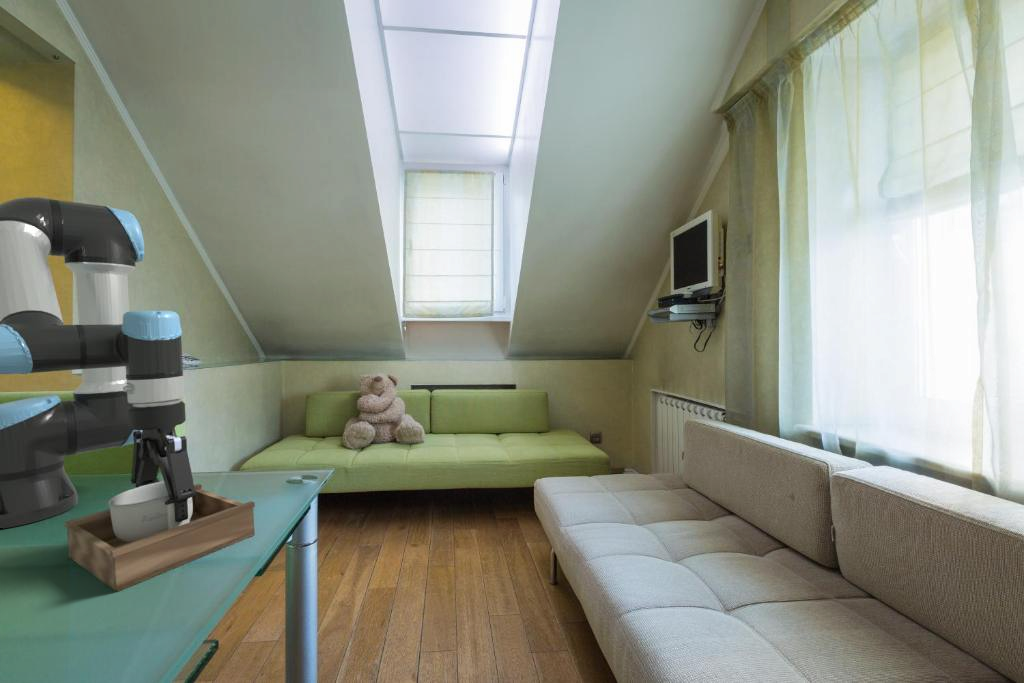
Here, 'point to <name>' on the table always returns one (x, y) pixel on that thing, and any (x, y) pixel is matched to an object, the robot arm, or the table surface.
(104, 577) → the crate
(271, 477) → the table surface
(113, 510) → the teacup
